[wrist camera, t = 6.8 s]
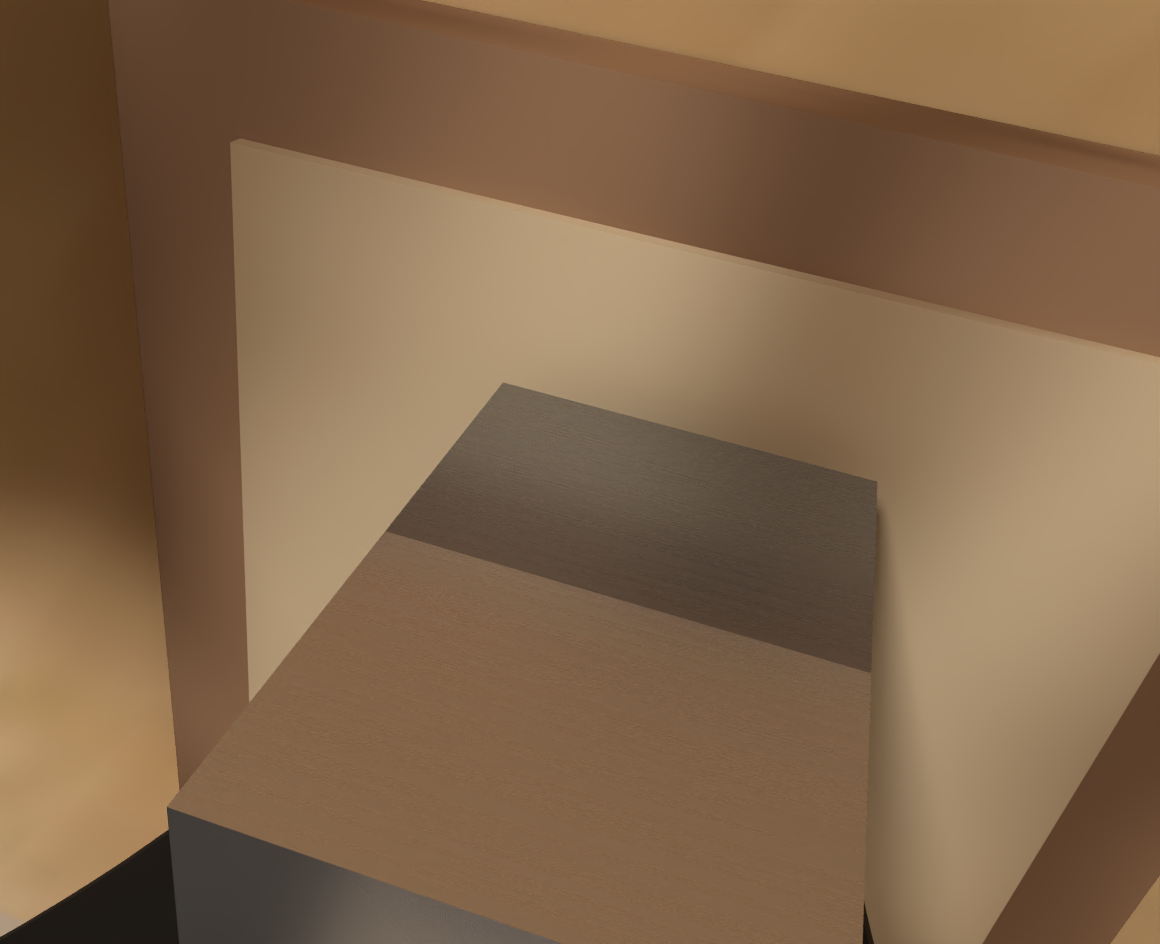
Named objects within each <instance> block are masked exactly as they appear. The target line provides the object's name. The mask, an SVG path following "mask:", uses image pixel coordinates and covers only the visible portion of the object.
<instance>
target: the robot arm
mask: <svg viewBox="0 0 1160 944" xmlns="http://www.w3.org/2000/svg"><path fill="white" fill-rule="evenodd" d="M0 944H179V937H178V925H177V914H176V903H175V892H174V881H173V870H172V859H171V848H170V837H169V830H167V831H166V832H165V833H163V834H162V835H160V836H159V837H157V838H156V839H155V840H153V841H152V842H150V843H149V844H147V845H146V846H144V847H143V848H142V849H140V850H139V851H137V852H136V853H134V854H133V855H132V856H130V857H129V858H127V859H126V860H124V861H123V862H121V863H120V864H118V865H117V866H115V867H114V868H112V869H111V870H109V871H108V872H106V873H105V874H103V875H102V876H100V877H98V878H97V879H95V880H94V881H92V882H91V883H89V884H88V885H86V886H84V887H83V888H81V889H80V890H78V891H77V892H75V893H73V894H72V895H70V896H69V897H67V898H65V899H64V900H62V901H60V902H59V903H57V904H55V905H54V906H52V907H50V908H49V909H47V910H45V911H44V912H42V913H40V914H39V915H37V916H36V917H34V918H32V919H31V920H29V921H27V922H26V923H24V924H22V925H21V926H19V927H17V928H15V929H14V930H12V931H10V932H8V933H7V934H5V935H3V936H1V937H0ZM863 944H874V941H873V937H872V933H871V929H870V925H869V921H868V916H867V912H866V907H865V903H864V914H863Z"/></svg>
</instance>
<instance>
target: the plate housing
mask: <svg viewBox="0 0 1160 944" xmlns="http://www.w3.org/2000/svg"><path fill="white" fill-rule="evenodd" d="M876 510H877V481H873V480H869V479H866V478H862V477H858V476H854V475H850V474H847V473H843V472H839V471H835V470H832V469H828V468H824V467H820V466H817V465H813V464H809V463H805V462H801V461H798V460H794V459H790V458H786V457H783V456H779V455H775V454H771V453H768V452H764V451H760V450H756V449H752V448H749V447H745V446H741V445H737V444H734V443H730V442H726V441H722V440H718V439H715V438H711V437H707V436H703V435H700V434H696V433H692V432H688V431H685V430H681V429H677V428H673V427H669V426H666V425H662V424H658V423H654V422H651V421H647V420H643V419H639V418H636V417H632V416H628V415H624V414H620V413H617V412H613V411H609V410H605V409H602V408H598V407H594V406H590V405H586V404H583V403H579V402H575V401H571V400H568V399H564V398H560V397H556V396H553V395H549V394H545V393H541V392H537V391H534V390H530V389H526V388H522V387H519V386H515V385H511V384H507V383H504V382H503V383H502V384H501V386H500V387H499V388H498V389H497V391H496V392H495V393H494V394H493V396H492V397H491V398H490V399H489V401H488V402H487V403H486V404H485V406H484V407H483V408H482V410H481V411H480V412H479V413H478V415H477V416H476V417H475V418H474V420H473V421H472V422H471V423H470V425H469V426H468V427H467V428H466V430H465V431H464V432H463V434H462V435H461V436H460V437H459V439H458V440H457V441H456V442H455V444H454V445H453V446H452V447H451V449H450V450H449V451H448V452H447V454H446V455H445V456H444V458H443V459H442V460H441V461H440V463H439V464H438V465H437V466H436V468H435V469H434V470H433V471H432V473H431V474H430V475H429V476H428V478H427V479H426V480H425V482H424V483H423V484H422V485H421V487H420V488H419V489H418V490H417V492H416V493H415V494H414V495H413V497H412V498H411V499H410V500H409V502H408V503H407V504H406V506H405V507H404V508H403V509H402V511H401V512H400V513H399V514H398V516H397V517H396V518H395V519H394V521H393V522H392V523H391V524H390V526H389V527H388V528H387V530H386V531H385V532H384V533H383V535H382V536H381V537H380V538H379V540H378V541H377V542H376V543H375V545H374V546H373V547H372V548H371V550H370V551H369V552H368V554H367V555H366V556H365V557H364V559H363V560H362V561H361V562H360V564H359V565H358V566H357V567H356V569H355V570H354V571H353V572H352V574H351V575H350V576H349V578H348V579H347V580H346V581H345V583H344V584H343V585H342V586H341V588H340V589H339V590H338V591H337V593H336V594H335V595H334V596H333V598H332V599H331V600H330V602H329V603H328V604H327V605H326V607H325V608H324V609H323V610H322V612H321V613H320V614H319V615H318V617H317V618H316V619H315V620H314V622H313V623H312V624H311V626H310V627H309V628H308V629H307V631H306V632H305V633H304V634H303V636H302V637H301V638H300V639H299V641H298V642H297V643H296V644H295V646H294V647H293V648H292V650H291V651H290V652H289V653H288V655H287V656H286V657H285V658H284V660H283V661H282V662H281V663H280V665H279V666H278V667H277V668H276V670H275V671H274V672H273V674H272V675H271V676H270V677H269V679H268V680H267V681H266V682H265V684H264V685H263V686H262V687H261V689H260V690H259V691H258V692H257V694H256V695H255V696H254V698H253V699H252V700H251V701H250V703H249V704H248V705H247V706H246V708H245V709H244V710H243V711H242V713H241V714H240V715H239V716H238V718H237V719H236V720H235V722H234V723H233V724H232V725H231V727H230V728H229V729H228V730H227V732H226V733H225V734H224V735H223V737H222V738H221V739H220V740H219V742H218V743H217V744H216V746H215V747H214V748H213V749H212V751H211V752H210V753H209V754H208V756H207V757H206V758H205V759H204V761H203V762H202V763H201V764H200V766H199V767H198V768H197V770H196V771H195V772H194V773H193V775H192V776H191V777H190V778H189V780H188V781H187V782H186V783H185V785H184V786H183V787H182V788H181V790H180V791H179V792H178V794H177V795H176V796H175V797H174V799H173V800H172V801H171V802H170V804H169V805H168V806H167V815H168V826H169V837H170V848H171V859H172V870H173V881H174V892H175V903H176V914H177V925H178V937H179V944H863V914H864V883H865V852H866V821H867V790H868V758H869V727H870V696H871V665H872V634H873V603H874V572H875V541H876Z"/></svg>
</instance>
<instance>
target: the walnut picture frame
mask: <svg viewBox="0 0 1160 944" xmlns="http://www.w3.org/2000/svg"><path fill="white" fill-rule="evenodd" d="M108 7H109V18H110V29H111V40H112V51H113V62H114V73H115V84H116V95H117V106H118V117H119V128H120V139H121V150H122V161H123V172H124V183H125V194H126V205H127V216H128V227H129V238H130V249H131V260H132V271H133V282H134V293H135V304H136V315H137V326H138V337H139V348H140V359H141V370H142V381H143V392H144V403H145V414H146V425H147V436H148V447H149V458H150V469H151V480H152V491H153V502H154V513H155V524H156V535H157V546H158V557H159V568H160V579H161V590H162V601H163V612H164V623H165V634H166V646H167V657H168V668H169V679H170V690H171V701H172V712H173V723H174V734H175V745H176V756H177V767H178V778H179V789H180V790H181V788H182V787H183V786H184V785H185V783H186V782H187V781H188V780H189V778H190V777H191V776H192V775H193V773H194V772H195V771H196V770H197V768H198V767H199V766H200V764H201V763H202V762H203V761H204V759H205V758H206V757H207V756H208V754H209V753H210V752H211V751H212V749H213V748H214V747H215V746H216V744H217V743H218V742H219V740H220V739H221V738H222V737H223V735H224V734H225V733H226V732H227V730H228V729H229V728H230V727H231V725H232V724H233V723H234V722H235V720H236V719H237V718H238V716H239V715H240V714H241V713H242V711H243V710H244V709H245V708H246V706H247V705H248V704H249V703H250V701H251V700H252V699H253V698H254V696H255V695H256V694H257V692H258V691H259V690H260V689H261V687H262V686H263V685H264V684H265V682H266V681H267V680H268V679H269V677H270V676H271V675H272V674H273V672H274V671H275V670H276V668H277V667H278V666H279V665H280V663H281V662H282V661H283V660H284V658H285V657H286V656H287V655H288V653H289V652H290V651H291V650H292V648H293V647H294V646H295V644H296V643H297V642H298V641H299V639H300V638H301V637H302V636H303V634H304V633H305V632H306V631H307V629H308V628H309V627H310V626H311V624H312V623H313V622H314V620H315V619H316V618H317V617H318V615H319V614H320V613H321V612H322V610H323V609H324V608H325V607H326V605H327V604H328V603H329V602H330V600H331V599H332V598H333V596H334V595H335V594H336V593H337V591H338V590H339V589H340V588H341V586H342V585H343V584H344V583H345V581H346V580H347V579H348V578H349V576H350V575H351V574H352V572H353V571H354V570H355V569H356V567H357V566H358V565H359V564H360V562H361V561H362V560H363V559H364V557H365V556H366V555H367V554H368V552H369V551H370V550H371V548H372V547H373V546H374V545H375V543H376V542H377V541H378V540H379V538H380V537H381V536H382V535H383V533H384V532H385V531H386V530H387V528H388V527H389V526H390V524H391V523H392V522H393V521H394V519H395V518H396V517H397V516H398V514H399V513H400V512H401V511H402V509H403V508H404V507H405V506H406V504H407V503H408V502H409V500H410V499H411V498H412V497H413V495H414V494H415V493H416V492H417V490H418V489H419V488H420V487H421V485H422V484H423V483H424V482H425V480H426V479H427V478H428V476H429V475H430V474H431V473H432V471H433V470H434V469H435V468H436V466H437V465H438V464H439V463H440V461H441V460H442V459H443V458H444V456H445V455H446V454H447V452H448V451H449V450H450V449H451V447H452V446H453V445H454V444H455V442H456V441H457V440H458V439H459V437H460V436H461V435H462V434H463V432H464V431H465V430H466V428H467V427H468V426H469V425H470V423H471V422H472V421H473V420H474V418H475V417H476V416H477V415H478V413H479V412H480V411H481V410H482V408H483V407H484V406H485V404H486V403H487V402H488V401H489V399H490V398H491V397H492V396H493V394H494V393H495V392H496V391H497V389H498V388H499V387H500V386H501V384H502V383H503V382H504V383H507V384H511V385H515V386H519V387H522V388H526V389H530V390H534V391H537V392H541V393H545V394H549V395H553V396H556V397H560V398H564V399H568V400H571V401H575V402H579V403H583V404H586V405H590V406H594V407H598V408H602V409H605V410H609V411H613V412H617V413H620V414H624V415H628V416H632V417H636V418H639V419H643V420H647V421H651V422H654V423H658V424H662V425H666V426H669V427H673V428H677V429H681V430H685V431H688V432H692V433H696V434H700V435H703V436H707V437H711V438H715V439H718V440H722V441H726V442H730V443H734V444H737V445H741V446H745V447H749V448H752V449H756V450H760V451H764V452H768V453H771V454H775V455H779V456H783V457H786V458H790V459H794V460H798V461H801V462H805V463H809V464H813V465H817V466H820V467H824V468H828V469H832V470H835V471H839V472H843V473H847V474H850V475H854V476H858V477H862V478H866V479H869V480H873V481H877V510H876V541H875V572H874V603H873V634H872V665H871V696H870V727H869V758H868V790H867V821H866V852H865V883H864V903H865V907H866V912H867V916H868V921H869V925H870V929H871V933H872V937H873V941H874V944H1110V943H1111V942H1112V941H1113V939H1114V938H1115V936H1116V935H1117V934H1118V932H1119V931H1120V929H1121V928H1122V927H1123V925H1124V924H1125V923H1126V921H1127V920H1128V918H1129V917H1130V916H1131V914H1132V913H1133V912H1134V910H1135V909H1136V907H1137V906H1138V905H1139V903H1140V902H1141V900H1142V899H1143V898H1144V896H1145V895H1146V894H1147V892H1148V891H1149V889H1150V888H1151V887H1152V885H1153V884H1154V883H1155V881H1156V880H1157V878H1158V877H1159V876H1160V156H1157V155H1152V154H1147V153H1143V152H1138V151H1133V150H1129V149H1124V148H1119V147H1114V146H1110V145H1105V144H1100V143H1095V142H1091V141H1086V140H1081V139H1076V138H1072V137H1067V136H1062V135H1057V134H1053V133H1048V132H1043V131H1038V130H1034V129H1029V128H1024V127H1019V126H1015V125H1010V124H1005V123H1000V122H996V121H991V120H986V119H982V118H977V117H972V116H967V115H963V114H958V113H953V112H948V111H944V110H939V109H934V108H929V107H925V106H920V105H915V104H910V103H906V102H901V101H896V100H891V99H887V98H882V97H877V96H872V95H868V94H863V93H858V92H853V91H849V90H844V89H839V88H835V87H830V86H825V85H820V84H816V83H811V82H806V81H801V80H797V79H792V78H787V77H782V76H778V75H773V74H768V73H763V72H759V71H754V70H749V69H744V68H740V67H735V66H730V65H725V64H721V63H716V62H711V61H706V60H702V59H697V58H692V57H687V56H683V55H678V54H673V53H669V52H664V51H659V50H654V49H650V48H645V47H640V46H635V45H631V44H626V43H621V42H616V41H612V40H607V39H602V38H597V37H593V36H588V35H583V34H578V33H574V32H569V31H564V30H559V29H555V28H550V27H545V26H540V25H536V24H531V23H526V22H522V21H517V20H512V19H507V18H503V17H498V16H493V15H488V14H484V13H479V12H474V11H469V10H465V9H460V8H455V7H450V6H446V5H441V4H436V3H431V2H427V1H422V0H108Z"/></svg>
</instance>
